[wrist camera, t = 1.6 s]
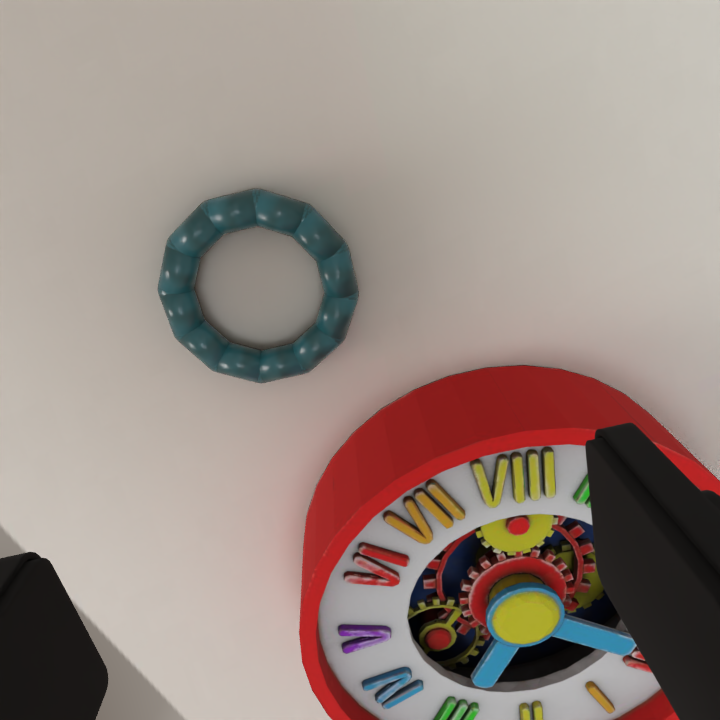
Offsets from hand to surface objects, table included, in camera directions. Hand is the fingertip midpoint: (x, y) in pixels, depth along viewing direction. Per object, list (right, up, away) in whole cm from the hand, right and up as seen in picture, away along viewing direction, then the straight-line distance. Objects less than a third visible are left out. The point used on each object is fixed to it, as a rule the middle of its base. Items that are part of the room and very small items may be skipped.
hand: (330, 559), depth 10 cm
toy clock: (+8, -6, +21) cm, 23 cm away
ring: (-4, +6, +15) cm, 16 cm away
